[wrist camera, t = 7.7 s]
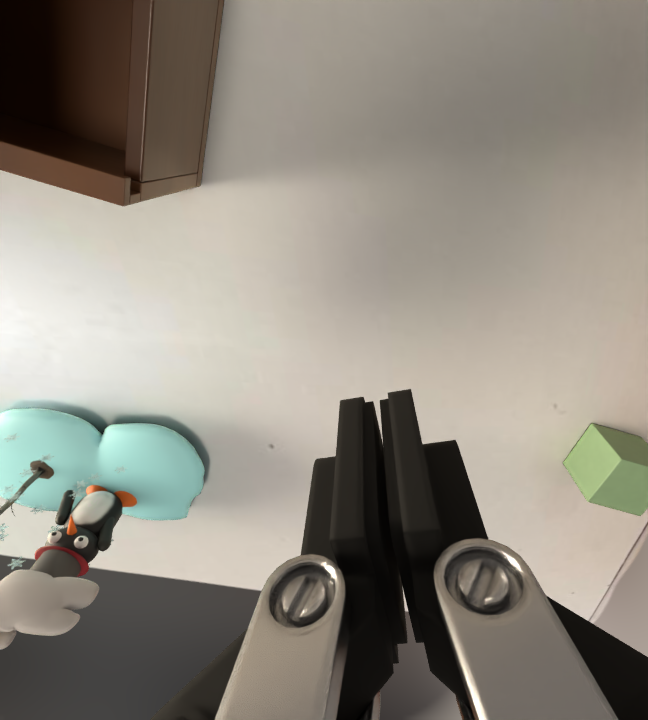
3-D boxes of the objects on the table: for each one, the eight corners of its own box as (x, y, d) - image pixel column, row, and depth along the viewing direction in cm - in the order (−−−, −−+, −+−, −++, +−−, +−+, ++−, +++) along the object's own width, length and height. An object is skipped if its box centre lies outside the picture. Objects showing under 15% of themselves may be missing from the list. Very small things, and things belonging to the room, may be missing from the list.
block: (591, 422, 31) (621, 459, 27) (641, 436, 31) (678, 475, 27) (562, 463, 32) (587, 502, 29) (610, 476, 33) (640, 516, 29)
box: (227, -26, 21) (140, -138, 12) (200, 186, 25) (123, 206, 17) (-41, -115, 20) (-324, -298, 12) (-18, 120, 24) (-209, 108, 16)
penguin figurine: (209, 421, 33) (106, 611, 20) (211, 517, 38) (130, 721, 25) (-38, 388, 34) (-305, 552, 20) (-4, 487, 38) (-200, 672, 25)
